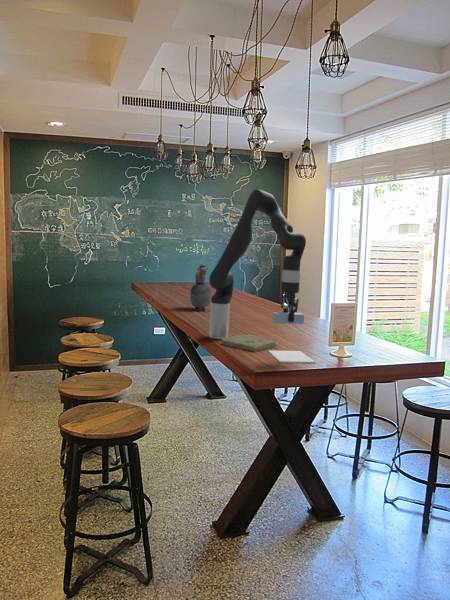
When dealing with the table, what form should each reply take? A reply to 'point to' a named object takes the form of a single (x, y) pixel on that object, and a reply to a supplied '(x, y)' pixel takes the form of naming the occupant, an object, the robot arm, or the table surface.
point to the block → (283, 318)
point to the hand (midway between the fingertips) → (288, 320)
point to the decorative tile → (248, 343)
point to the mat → (291, 357)
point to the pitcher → (200, 290)
